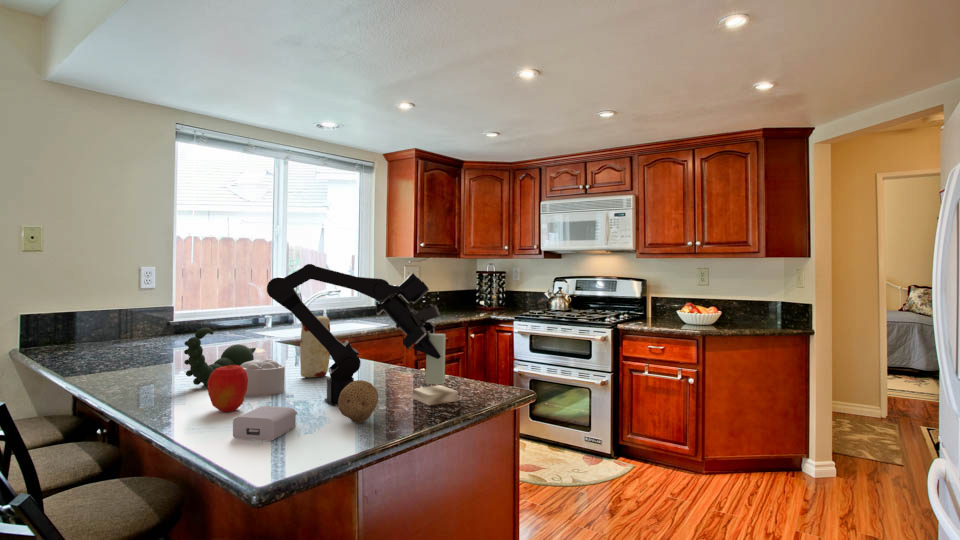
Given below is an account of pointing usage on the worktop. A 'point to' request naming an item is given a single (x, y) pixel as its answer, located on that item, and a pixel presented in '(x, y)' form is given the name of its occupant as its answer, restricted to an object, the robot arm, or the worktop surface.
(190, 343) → the toy figurine
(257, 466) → the worktop surface
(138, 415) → the worktop surface
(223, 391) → the apple
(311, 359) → the food model
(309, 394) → the worktop surface
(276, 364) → the lumpy-topped squat cylinder
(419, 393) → the birch block
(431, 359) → the green pillar
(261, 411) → the charger
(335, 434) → the worktop surface
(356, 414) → the natural sponge
